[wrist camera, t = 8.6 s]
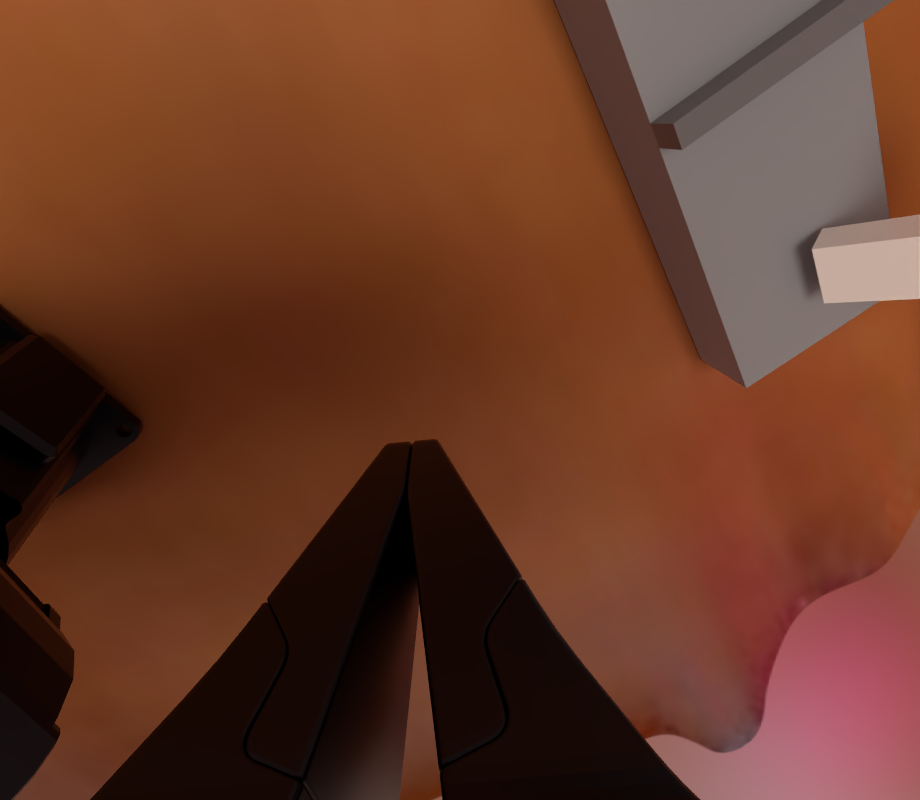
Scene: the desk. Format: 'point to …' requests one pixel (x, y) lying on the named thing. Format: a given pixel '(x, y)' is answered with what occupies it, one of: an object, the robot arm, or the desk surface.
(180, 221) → the desk surface
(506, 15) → the desk surface
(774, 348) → the grey ridged base plate
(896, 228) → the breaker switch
